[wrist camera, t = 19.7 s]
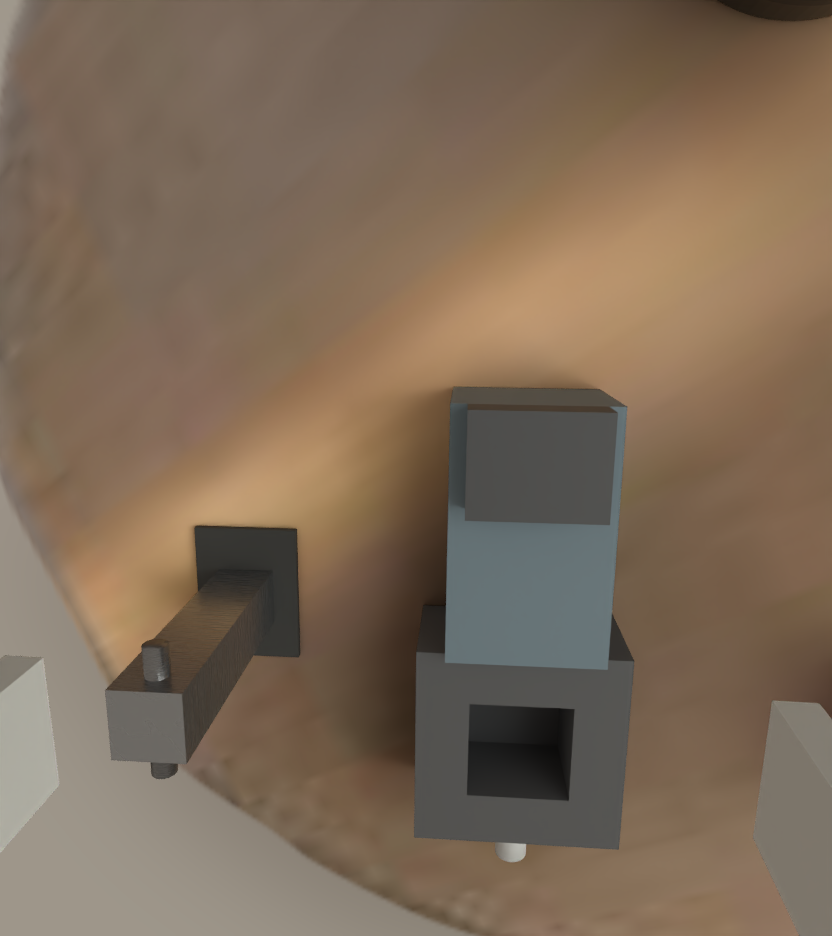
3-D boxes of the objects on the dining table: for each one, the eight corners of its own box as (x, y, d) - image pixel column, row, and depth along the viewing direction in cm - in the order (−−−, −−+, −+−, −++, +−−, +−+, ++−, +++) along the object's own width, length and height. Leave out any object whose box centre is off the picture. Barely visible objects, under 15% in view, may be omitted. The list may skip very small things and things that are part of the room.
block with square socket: (426, 386, 40) (414, 408, 32) (627, 389, 40) (673, 414, 31) (420, 811, 46) (409, 929, 38) (596, 821, 46) (626, 943, 37)
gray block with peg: (223, 640, 44) (113, 789, 31) (218, 546, 43) (102, 658, 29) (275, 642, 44) (188, 793, 30) (272, 548, 43) (179, 662, 29)
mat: (196, 525, 43) (194, 527, 43) (296, 528, 43) (295, 530, 42) (204, 649, 45) (201, 653, 45) (300, 654, 45) (298, 657, 44)
